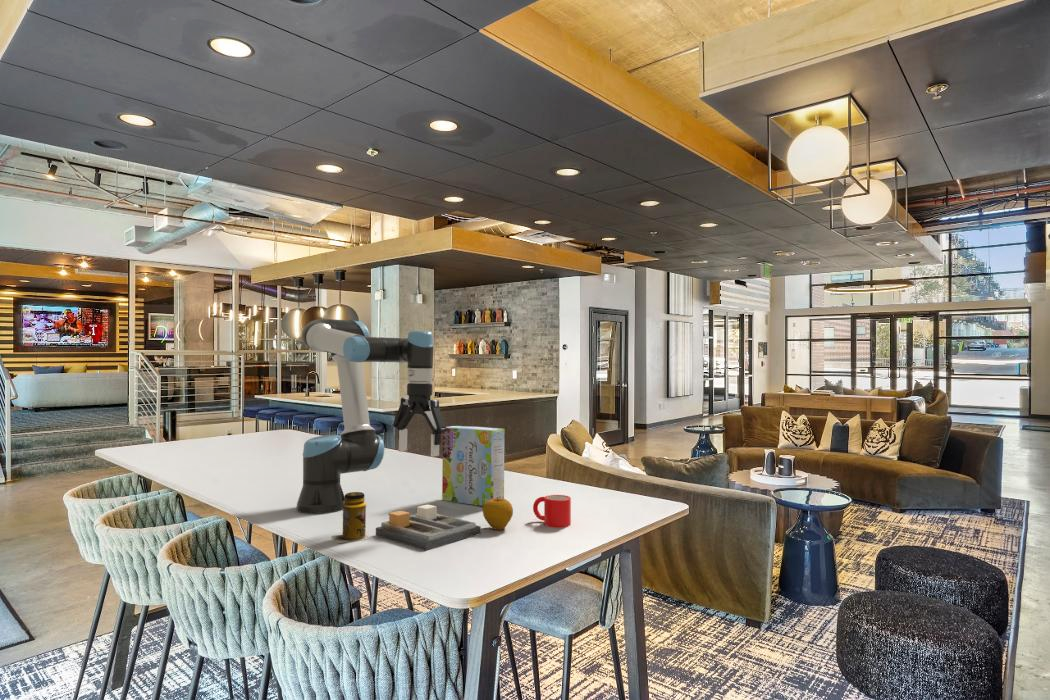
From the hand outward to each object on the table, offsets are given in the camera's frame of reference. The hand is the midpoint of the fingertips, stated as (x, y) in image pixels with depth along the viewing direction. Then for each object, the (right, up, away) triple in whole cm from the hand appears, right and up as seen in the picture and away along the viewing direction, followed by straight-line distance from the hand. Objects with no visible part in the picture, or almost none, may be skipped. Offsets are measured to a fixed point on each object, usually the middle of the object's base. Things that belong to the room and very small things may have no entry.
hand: (418, 453), depth 179 cm
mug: (+40, -21, 0) cm, 45 cm away
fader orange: (-3, -18, -12) cm, 22 cm away
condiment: (-16, -21, -16) cm, 30 cm away
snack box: (+14, -22, +27) cm, 37 cm away
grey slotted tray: (+5, -20, -12) cm, 24 cm away
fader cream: (+3, -18, -4) cm, 19 cm away
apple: (+24, -21, -6) cm, 32 cm away
